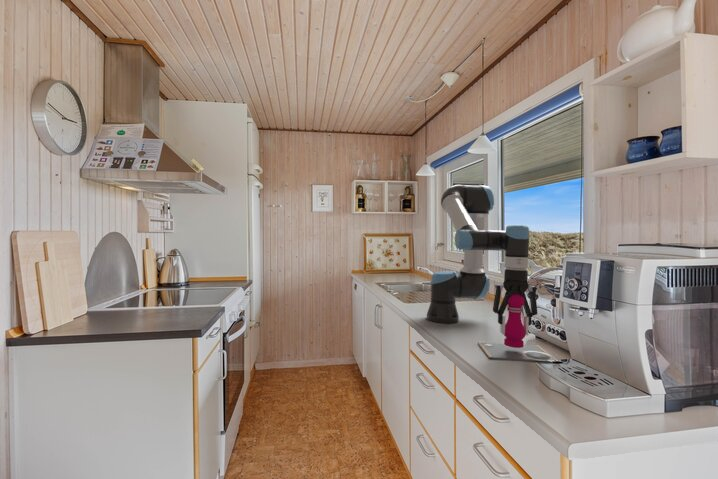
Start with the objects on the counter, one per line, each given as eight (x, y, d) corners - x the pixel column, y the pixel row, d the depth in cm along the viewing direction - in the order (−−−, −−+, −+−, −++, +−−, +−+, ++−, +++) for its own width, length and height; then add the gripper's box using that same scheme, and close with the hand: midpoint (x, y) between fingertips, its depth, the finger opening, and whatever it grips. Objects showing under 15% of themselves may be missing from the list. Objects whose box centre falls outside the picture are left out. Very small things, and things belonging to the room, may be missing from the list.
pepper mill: (520, 342, 130) (522, 287, 129) (528, 349, 122) (530, 290, 122) (500, 341, 130) (501, 286, 130) (506, 347, 123) (508, 289, 123)
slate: (477, 344, 135) (477, 342, 135) (538, 347, 133) (538, 345, 133) (490, 360, 118) (490, 357, 118) (559, 363, 116) (559, 361, 116)
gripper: (489, 269, 123) (487, 335, 124) (550, 271, 121) (548, 338, 122) (484, 267, 131) (482, 329, 131) (541, 268, 129) (539, 332, 129)
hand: (514, 333), depth 126 cm, fingers closed on pepper mill, 7 cm apart
